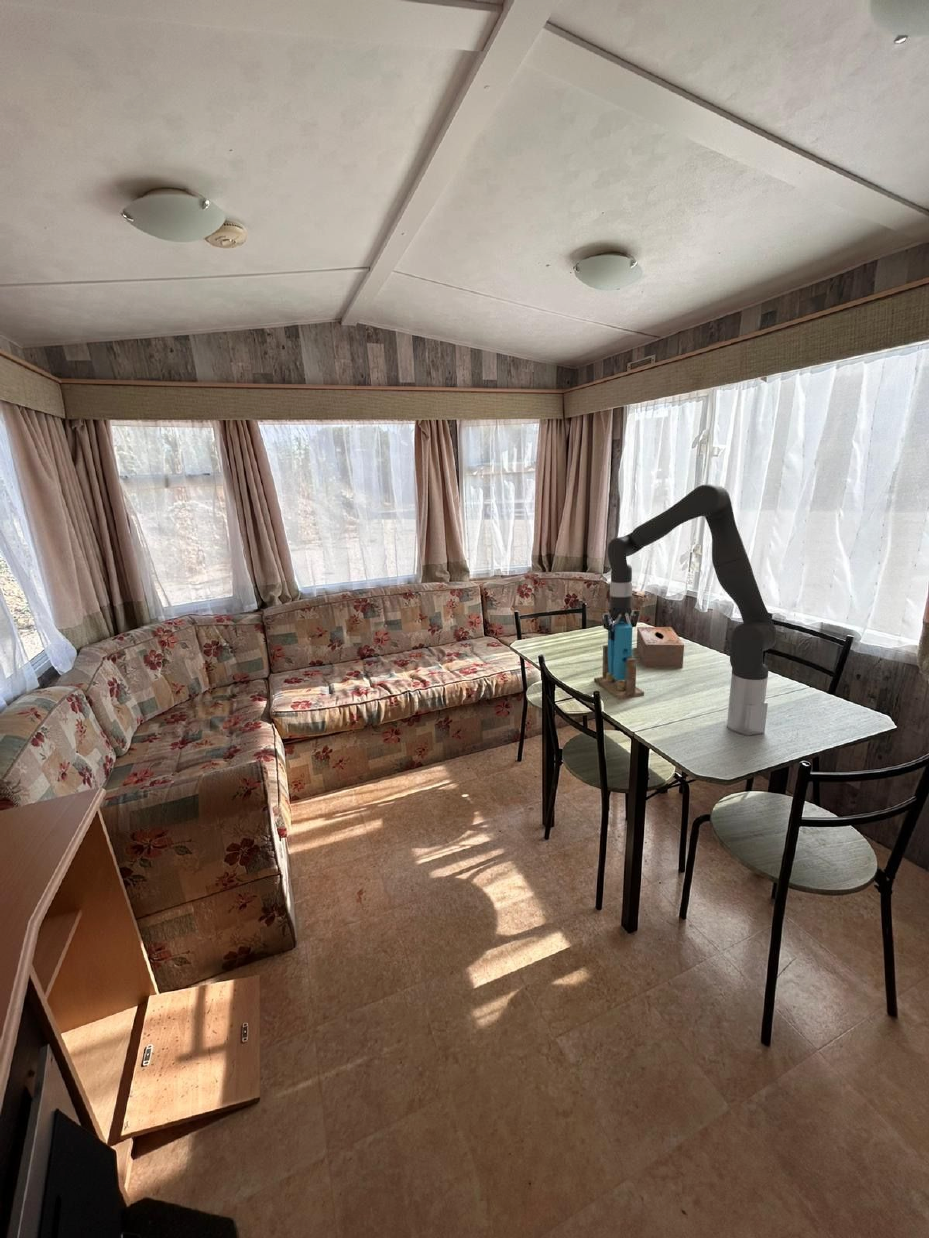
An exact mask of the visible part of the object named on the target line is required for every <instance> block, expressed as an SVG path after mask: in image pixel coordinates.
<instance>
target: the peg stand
mask: <svg viewBox="0 0 929 1238" xmlns="http://www.w3.org/2000/svg"><path fill="white" fill-rule="evenodd" d="M637 661H638V660H637V658H635V657H632V658H630V659H626V680H615V679H614V678H613V675H610V674H609V667H608V644H604V645H602V676H600V677H594V678H593V681H594V682H595V683H596V684H598V685H599V686H600V687H601V688H603V689H604V690H606V692H608V693H610V694H611V695H612V696H614V697H615V698H617V699H618V700H621V699H628V698H634V697H635V698H636V697H640V696H645V691H644V690H642V689H640V688H639V687H637V686H636V684H637V682H636V681H637V663H638V662H637Z"/></svg>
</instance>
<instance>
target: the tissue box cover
mask: <svg viewBox="0 0 929 1238" xmlns="http://www.w3.org/2000/svg"><path fill="white" fill-rule="evenodd" d="M636 628H637V631H636V632H637V633H636V649H637V652H638V655H639V656H640V659H641V661H642V663H643V665H644V667H645V668H668V669H674V668H675V669H683V668H684V667H683V666H684V657H685V655H684V654H685V653H684V651H685V644H684V642H683V641H682V640H681V639H680V637H679V635H678V634H677V633H676V631H675V630H674V629H673V627H671V626H664V627H663V626H662V627H661V626H658V627H657V626H636Z"/></svg>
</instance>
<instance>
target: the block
mask: <svg viewBox="0 0 929 1238" xmlns="http://www.w3.org/2000/svg"><path fill="white" fill-rule="evenodd" d="M608 620H609V624H610V620H611V619H608ZM614 622H615V621H614ZM614 631H615V637H614V641H611V640H610V639H609V630H607V645H608V667H609V674H610V675H613V678H614V679H615V680H626V659H630V658H633V657H632V656H633V655H632V651H633V628H632V626H631V625H629V624H627V623H625V622H619V623H618V625H615V630H614Z"/></svg>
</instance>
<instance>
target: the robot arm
mask: <svg viewBox="0 0 929 1238" xmlns="http://www.w3.org/2000/svg"><path fill="white" fill-rule="evenodd" d="M699 517H704V518H705V521H706V523H707V525H708V529H709V531H710V534H711V562H712V566H713V568H714V569H713V570H714V572H715V575H716V577H717V581H718V583H719V585H720V586H721V587H722V589H723V590H724V592H725V593H727V595H728V597H730V598H731V599H732V601H733V602H734V603H735V605H736V606H737V608H738V610H739V612H740V613H739V614H740V616H741V620H742V623H740V624H738V625H737V626H736V627H734V628H733V631H732V633H731V636H730V645H729V648H730V649H729V663H730V666H731V677H730V689H729V700H728V708H727V721H726V726H727V727H728V729H730V730H731V731H732V732H736V733H738V734H743V735H745V736H754V735H759V734H764V733H765V731H766V724H767V714H768V705H769V704H768V702H766V697H767V685H768V679H769V667H768V666H767V665H766V664H764V663H763V662H764V661H763V659H764V652H765V651H768V650H769V649H771V648H773V647H774V646H775V645H776V643H777V640H778V632H777V629H776V626H775V624H774V621H773V620H772V618H771V615H770V614H769V612H768V609H767V607H766V605H765V603H764V601H763V598H762V594H761V591H760V588H759V586H758V584H757V580H756V578H755V575H754V571H753V567H752V565H751V562H750V558H749V557H748V554H747V550H746V548H745V545H744V542H743V540H742V537H741V534H740V532H739V529H738V526H737V523H736V520H735V514H734V509H733V503H732V501H731V496H730V493H729V492H728V490H727V489H725V487H723V486H722V485H718V484H711V483H709V484H702V485H698V486H697V487H696V488H694V489H693V490H692V491H690V492H689V493H688V494H686V495H685V496H684V497H682V498H681V499H680V500H679V501H677V502H676V503H674V505H672V506H671V507H669V508H667V510H665V511H663V512H662V513H661V512H660V514H658V515H656V516H654V517H653V518H651V519H649V520H647V521H646V522H644V523H641V524H640V525H638V526H637V527H635V528H634V529H633V530H632V532H630V533H628V534H627V535H624V536H620V537H619V536H618V537H615V538H612V539H611V540H610V541H609V543H608V544H607V545H608V546H607V559H608V562H609V567H610V570H611V571H610V586H609V610H608V612H605V613H604V612H602V613H601V615H600V616H601V620H602V621H601V622H602V626H603V629H604V630H606V631H608V630H609V639H610V640H611V641H614V637H615V631H614V630H615V625H618V623H619V622H625V623H627V624H629V625H631V626H632V629H633V628H637V627H638V626H637V625H638V620H639V616H640V611H639V610H637V609H632V605H633V581H632V580H633V568H632V566H631V565H630V564H628V562H627V561H628V560H627V557H630V556H632V555H635V554H636V553H638V552H639V551H641V550H642V549H643V548H644V547H647V546H648V545H651V544H653V543H656V542H657V541H659V540H661V539H662V538H664V537H665V536H667V535H668V534H670V532H672V531H673V530H674V529H676V528H677V527H679V526H681V524H682V525H683V524H684V523H686V522H688V521H691V520H694V519H697V518H699ZM630 616H631V617H630ZM609 620H610V624H609ZM614 621H615V622H614Z"/></svg>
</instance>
